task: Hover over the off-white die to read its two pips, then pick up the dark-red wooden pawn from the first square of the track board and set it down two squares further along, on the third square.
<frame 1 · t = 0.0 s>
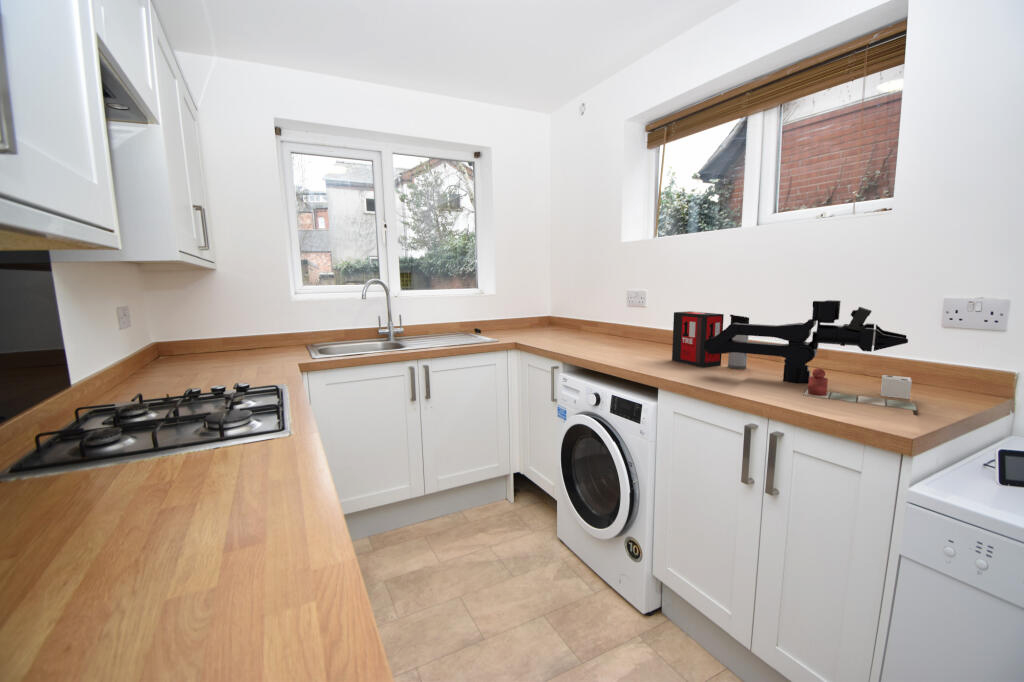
hand: (907, 339, 123), 17 cm above the counter, tool horizontal, fingers open, 9 cm apart
travel mug: (736, 367, 168), on the counter
cleaning product box: (695, 363, 178), on the counter
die: (894, 399, 124), on the counter
pawn: (817, 393, 126), point 1 cm above the counter, touching board
board: (856, 402, 120), on the counter
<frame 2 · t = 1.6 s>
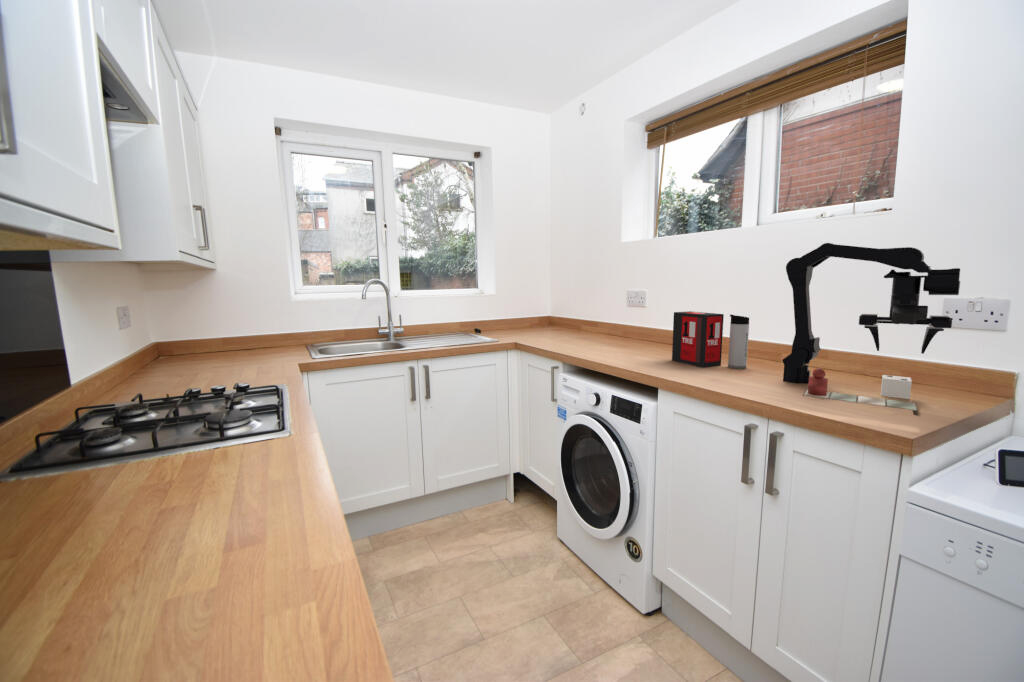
hand: (899, 352, 122), 13 cm above the counter, tool pointing down, fingers open, 9 cm apart
nothing on the counter moved.
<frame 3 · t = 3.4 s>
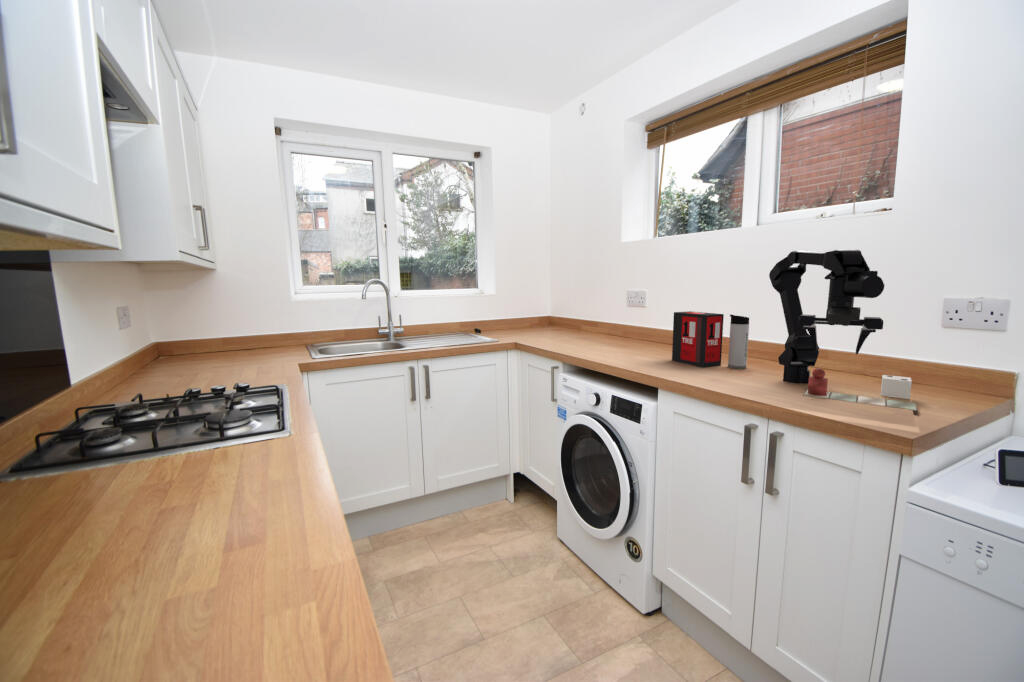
hand: (835, 352, 124), 13 cm above the counter, tool pointing down, fingers open, 9 cm apart
nothing on the counter moved.
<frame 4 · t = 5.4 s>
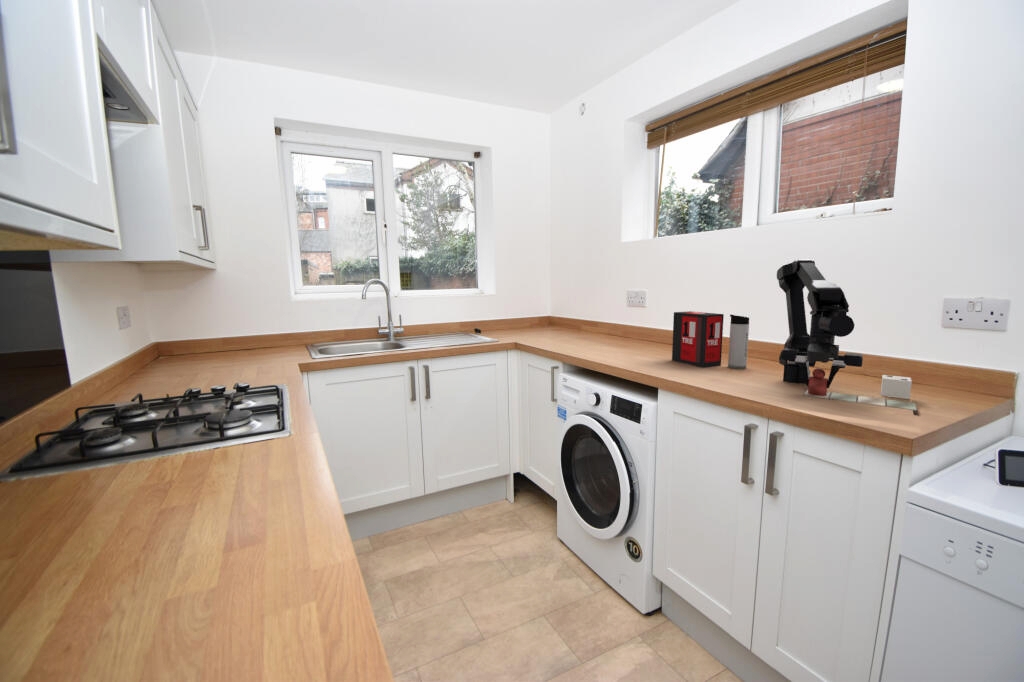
hand: (817, 386, 126), 3 cm above the counter, tool pointing down, fingers closed on pawn, 4 cm apart
pawn: (817, 393, 126), point 1 cm above the counter, touching board, gripper
everything else where it was.
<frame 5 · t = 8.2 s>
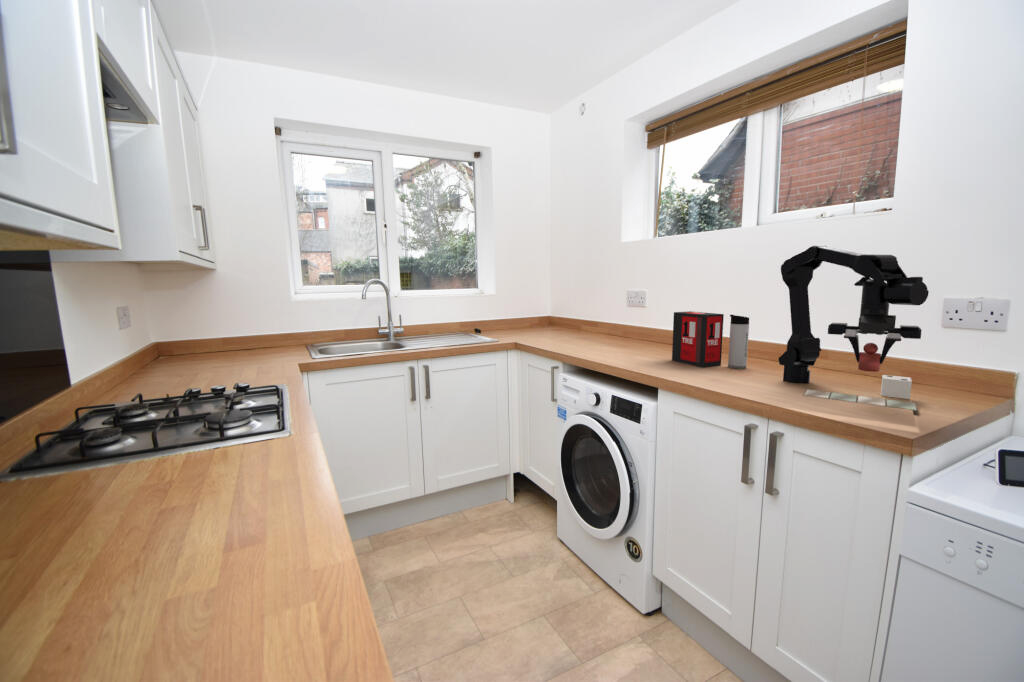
hand: (869, 362, 118), 11 cm above the counter, tool pointing down, fingers closed on pawn, 4 cm apart
pawn: (868, 370, 118), point 9 cm above the counter, touching gripper
everything else where it was.
when the fingers open (4 cm above the counter, at t = 11.1 s): pawn stays where it is, resting on board.
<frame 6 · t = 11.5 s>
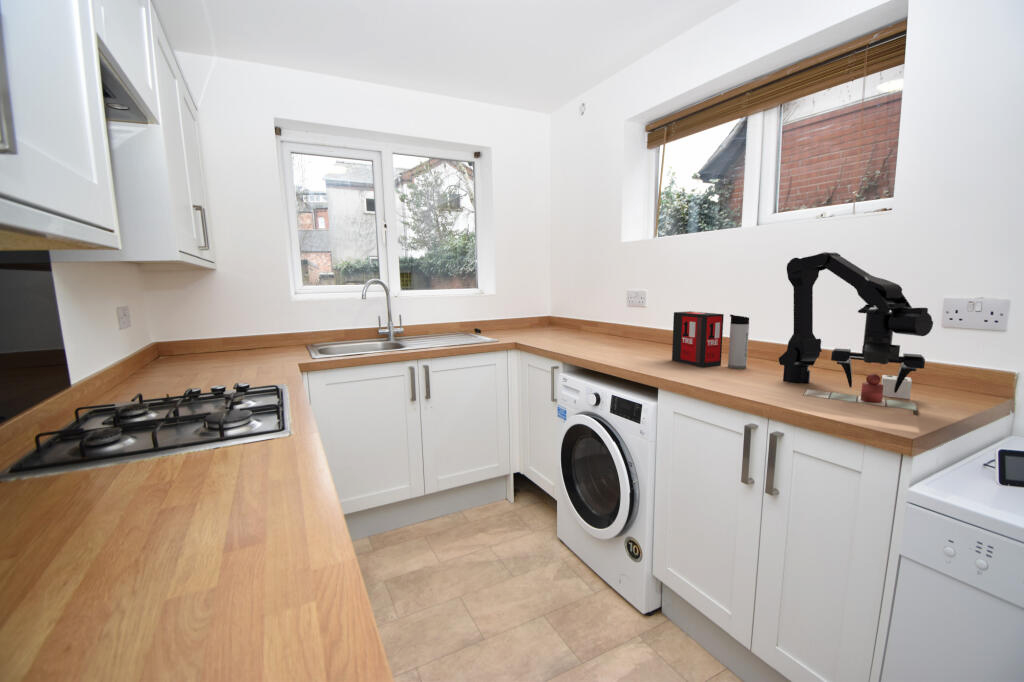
hand: (872, 389, 118), 4 cm above the counter, tool pointing down, fingers open, 9 cm apart
pawn: (871, 400, 118), point 1 cm above the counter, touching board
everything else where it was.
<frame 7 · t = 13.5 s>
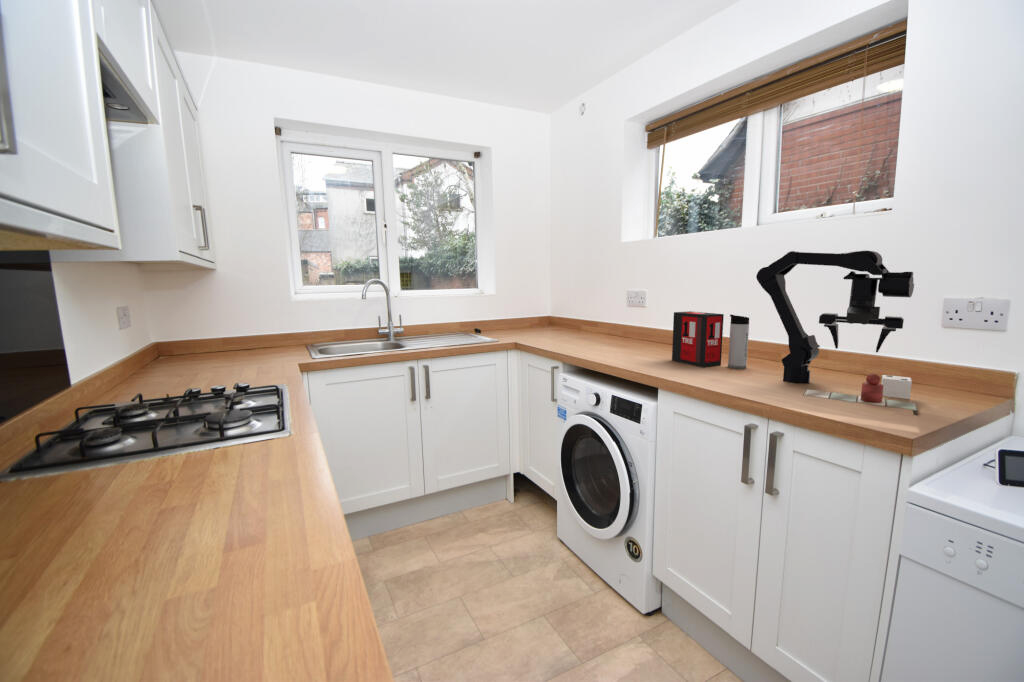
hand: (856, 350, 128), 13 cm above the counter, tool pointing down, fingers open, 9 cm apart
nothing on the counter moved.
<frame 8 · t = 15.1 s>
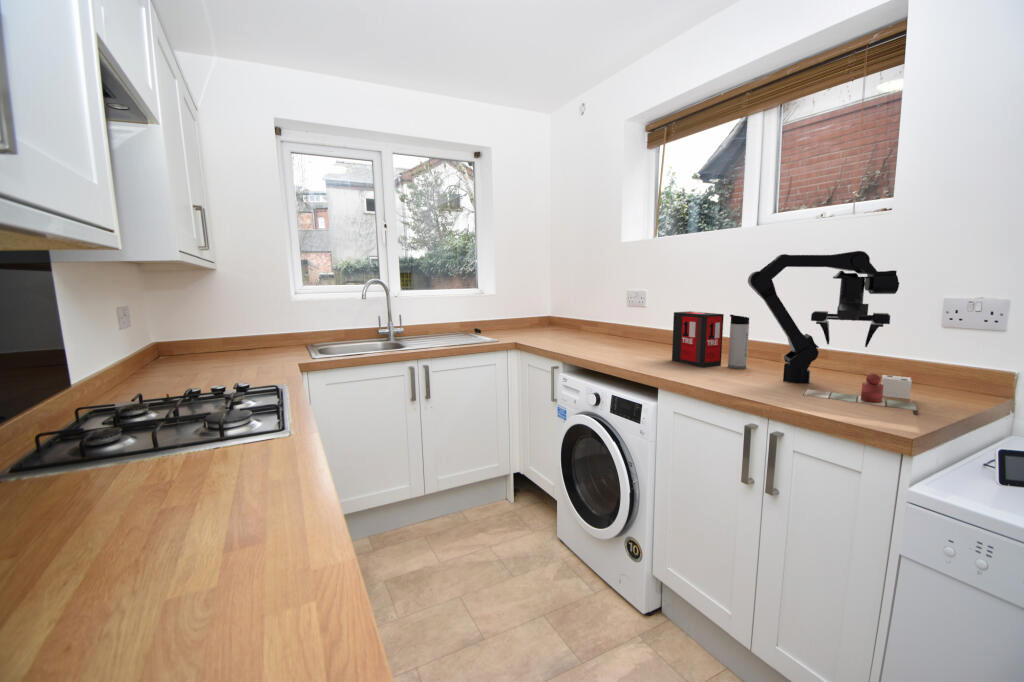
hand: (846, 345, 135), 13 cm above the counter, tool pointing down, fingers open, 9 cm apart
nothing on the counter moved.
at the end: pawn 0.1 cm from the target spot on the board, point 1.0 cm above the board's base; pawn tilted 0°; the gripper is holding nothing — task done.
